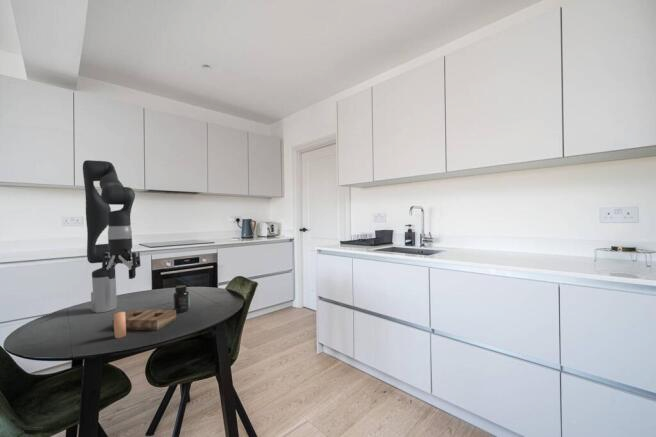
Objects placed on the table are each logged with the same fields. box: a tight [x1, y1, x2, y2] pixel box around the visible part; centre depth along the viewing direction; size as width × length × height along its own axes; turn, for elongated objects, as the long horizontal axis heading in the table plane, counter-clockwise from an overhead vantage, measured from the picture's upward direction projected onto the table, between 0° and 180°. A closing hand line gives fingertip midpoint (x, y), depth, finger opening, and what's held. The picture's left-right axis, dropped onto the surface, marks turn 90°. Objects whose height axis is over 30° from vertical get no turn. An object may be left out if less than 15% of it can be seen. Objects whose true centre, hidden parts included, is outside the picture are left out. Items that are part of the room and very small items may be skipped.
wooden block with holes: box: [112, 308, 177, 331], centre depth 121 cm, size 20×12×4 cm, turn 84°
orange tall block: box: [113, 311, 127, 339], centre depth 109 cm, size 4×4×9 cm
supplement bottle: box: [172, 284, 190, 314], centre depth 136 cm, size 7×7×12 cm
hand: (121, 278), depth 109 cm, fingers open, 8 cm apart
